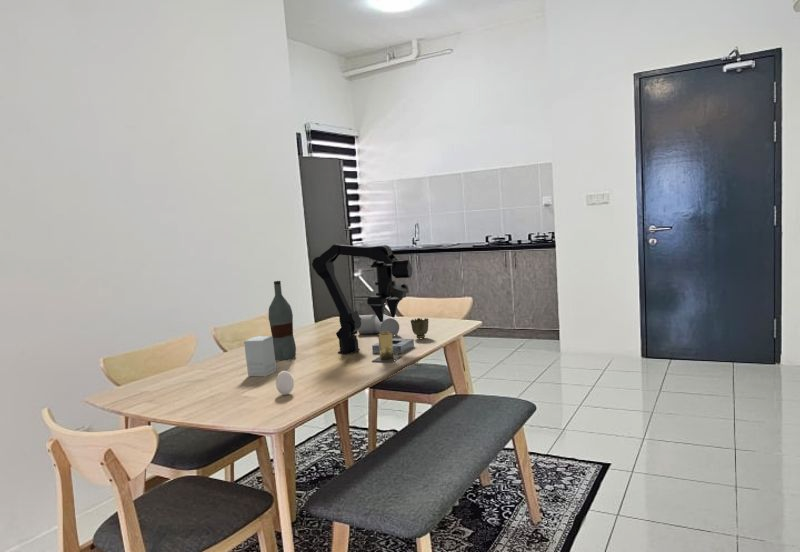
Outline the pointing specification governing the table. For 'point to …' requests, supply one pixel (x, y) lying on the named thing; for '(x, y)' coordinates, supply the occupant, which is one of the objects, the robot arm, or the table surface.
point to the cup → (420, 327)
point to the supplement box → (260, 356)
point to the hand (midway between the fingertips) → (387, 319)
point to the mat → (386, 360)
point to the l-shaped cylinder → (378, 325)
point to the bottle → (281, 326)
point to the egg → (284, 382)
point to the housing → (396, 345)
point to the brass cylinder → (386, 345)
